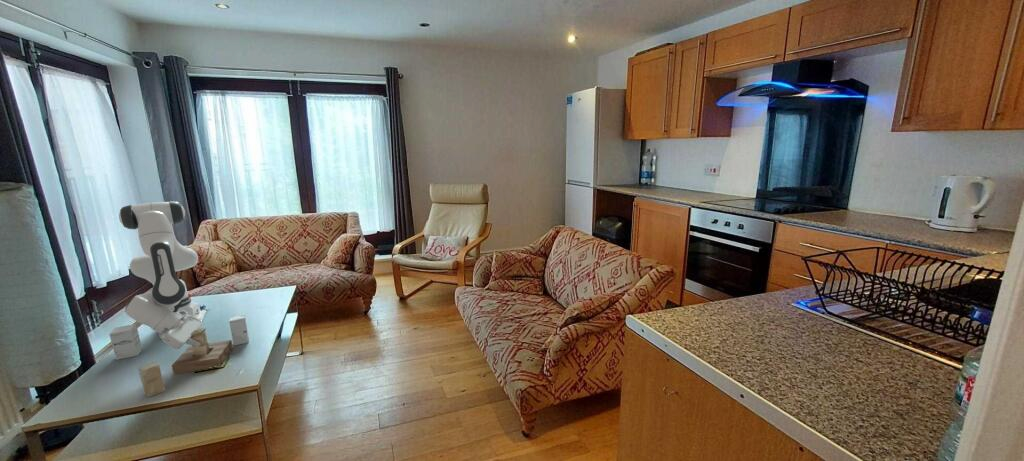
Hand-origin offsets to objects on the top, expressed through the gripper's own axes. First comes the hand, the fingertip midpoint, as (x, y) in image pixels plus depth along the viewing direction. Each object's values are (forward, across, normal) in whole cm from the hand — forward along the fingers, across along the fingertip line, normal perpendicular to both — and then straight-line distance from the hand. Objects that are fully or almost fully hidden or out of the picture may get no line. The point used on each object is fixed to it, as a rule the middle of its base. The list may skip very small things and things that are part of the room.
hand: (202, 341), depth 172 cm
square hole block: (+6, 0, +7) cm, 9 cm away
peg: (+4, 0, +6) cm, 7 cm away
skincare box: (+13, +13, 0) cm, 18 cm away
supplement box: (-19, +18, +31) cm, 41 cm away
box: (-1, -20, +13) cm, 24 cm away
